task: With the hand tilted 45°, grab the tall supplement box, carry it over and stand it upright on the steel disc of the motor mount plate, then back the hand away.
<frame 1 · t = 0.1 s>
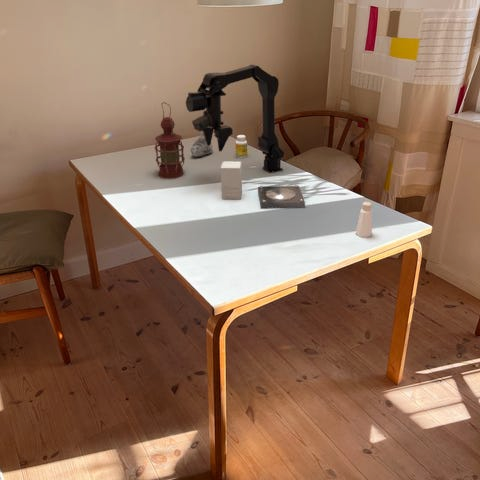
hand: (214, 148, 205), 15 cm above the table, tool pointing down, fingers open, 9 cm apart
pepper shaker: (363, 234, 171), on the table
supplement box: (232, 196, 200), on the table
motor mount: (280, 199, 197), on the table
lantern: (171, 174, 222), on the table
mineral rock: (201, 154, 244), on the table
supplement bottle: (241, 156, 241), on the table
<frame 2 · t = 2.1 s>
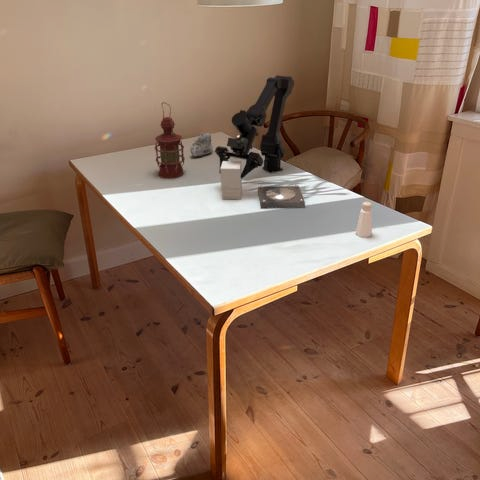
hand: (230, 175, 196), 8 cm above the table, tool tilted 45°, fingers open, 9 cm apart
supplement box: (232, 195, 200), on the table, touching gripper
everything else where it was.
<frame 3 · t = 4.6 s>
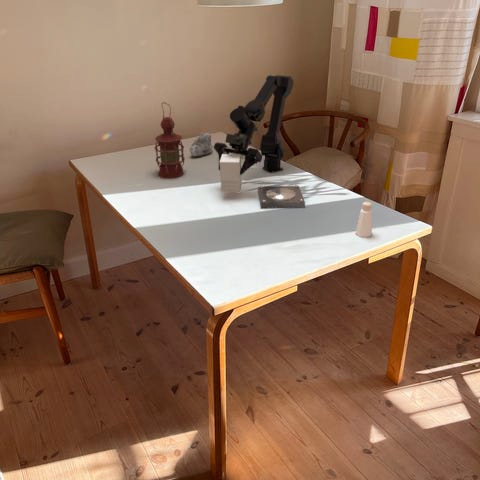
hand: (229, 172, 195), 10 cm above the table, tool tilted 45°, fingers closed on supplement box, 9 cm apart
supplement box: (231, 188, 199), point 3 cm above the table, touching gripper
everything else where it was.
when the fingers open (13 cm above the table, at t = 6.7 s): supplement box drops 4 cm, resting on motor mount.
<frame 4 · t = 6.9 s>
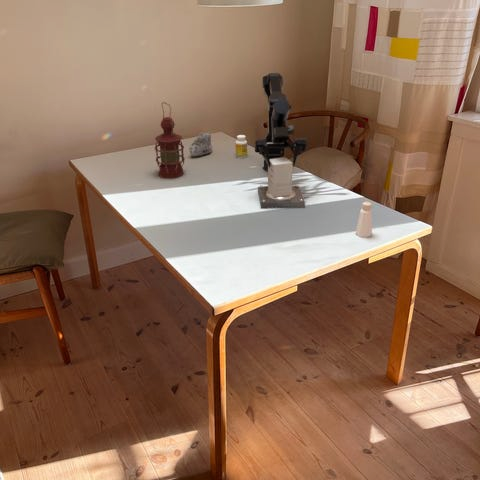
hand: (281, 166, 189), 13 cm above the table, tool tilted 45°, fingers open, 8 cm apart
supplement box: (279, 193, 196), point 2 cm above the table, touching gripper, motor mount
everything else where it was.
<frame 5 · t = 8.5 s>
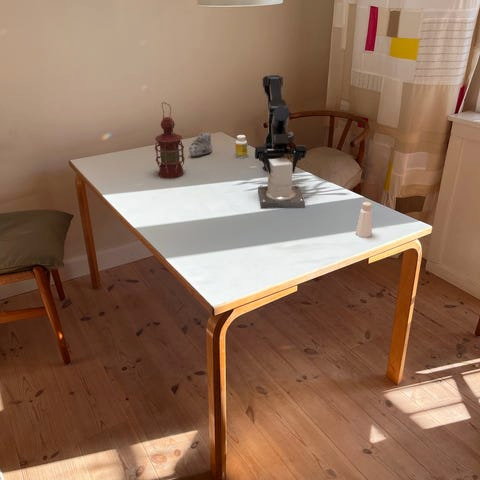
hand: (281, 173, 190), 11 cm above the table, tool tilted 45°, fingers open, 8 cm apart
nothing on the table moved.
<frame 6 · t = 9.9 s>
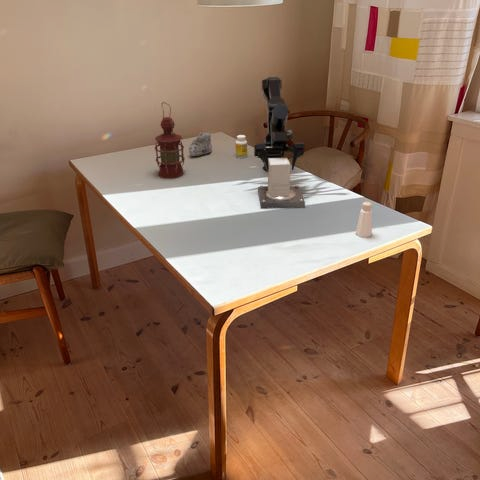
hand: (280, 170, 194), 11 cm above the table, tool tilted 45°, fingers open, 9 cm apart
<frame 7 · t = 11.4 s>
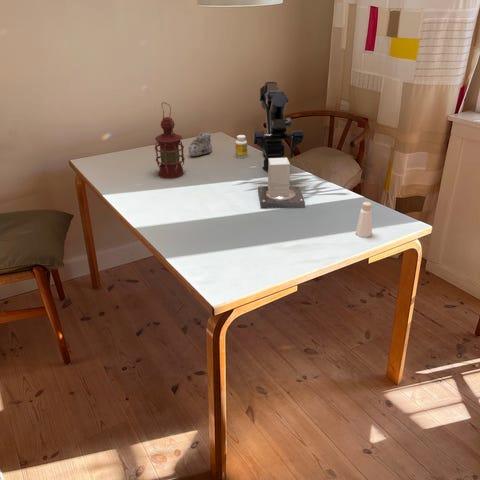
hand: (279, 157, 198), 14 cm above the table, tool tilted 45°, fingers open, 9 cm apart
supplement box: (278, 193, 196), point 2 cm above the table, touching motor mount
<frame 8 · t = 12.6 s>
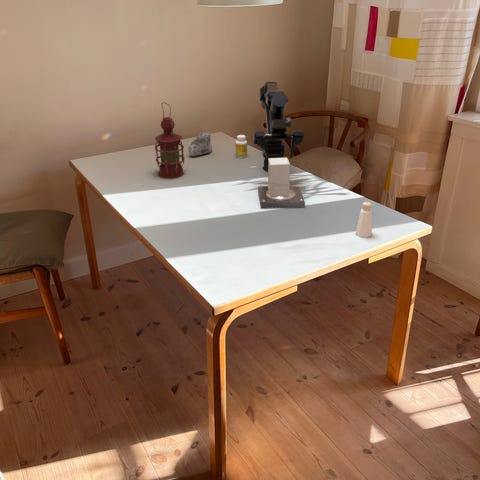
hand: (279, 157, 198), 14 cm above the table, tool tilted 45°, fingers open, 9 cm apart
at the end: supplement box 1.1 cm off-centre on the motor mount, point 2.1 cm above the motor mount's base; supplement box tilted 0°; the gripper is holding nothing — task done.
